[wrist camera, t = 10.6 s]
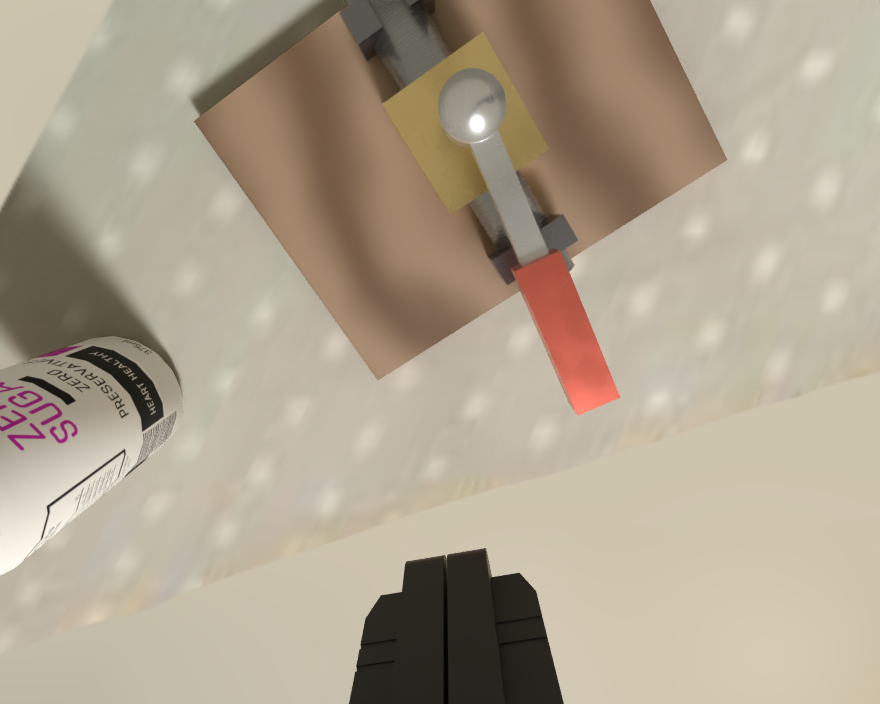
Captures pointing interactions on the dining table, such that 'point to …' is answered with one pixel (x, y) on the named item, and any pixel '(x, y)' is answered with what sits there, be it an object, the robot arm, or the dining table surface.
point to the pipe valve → (417, 117)
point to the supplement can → (76, 433)
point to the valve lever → (527, 241)
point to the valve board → (407, 189)
